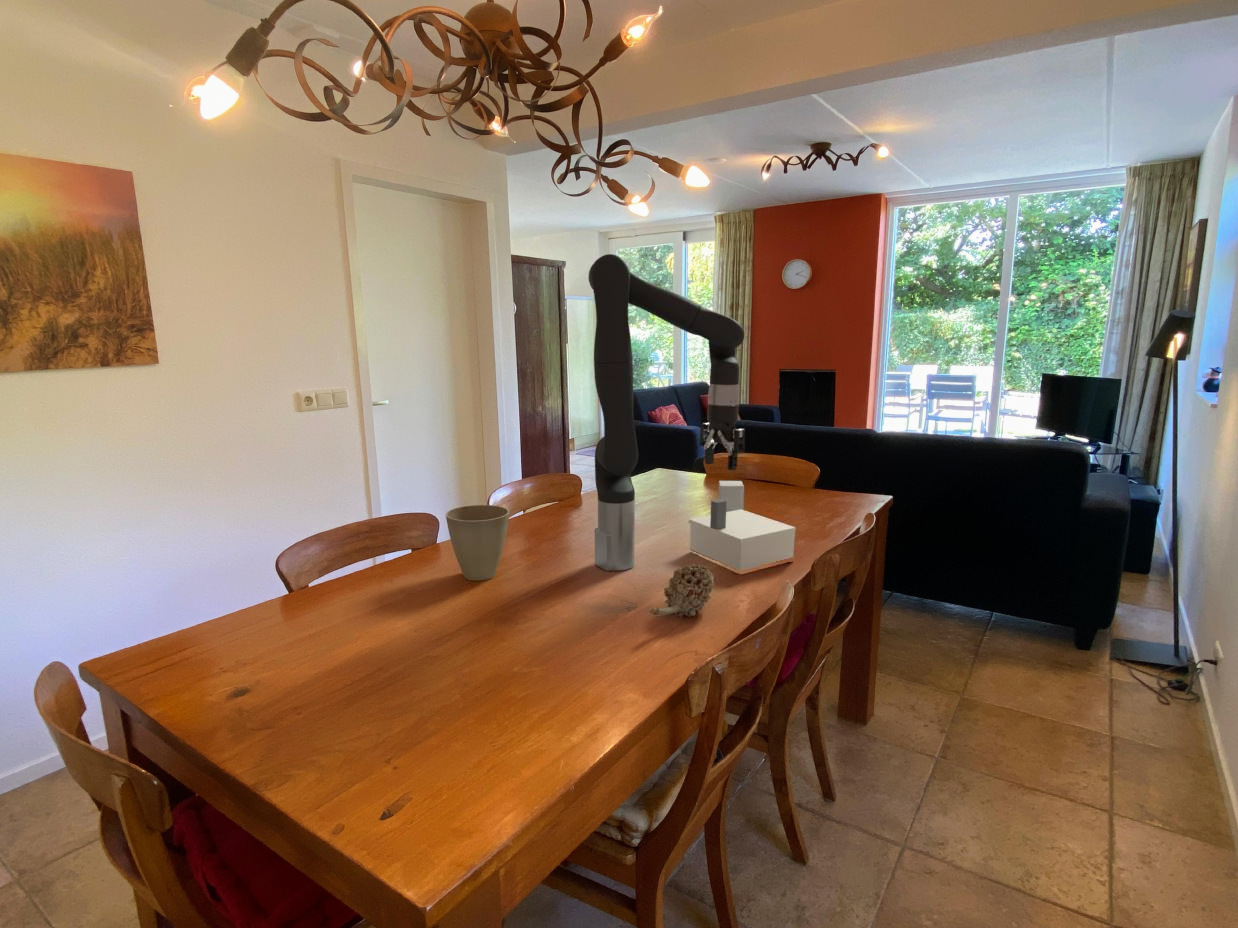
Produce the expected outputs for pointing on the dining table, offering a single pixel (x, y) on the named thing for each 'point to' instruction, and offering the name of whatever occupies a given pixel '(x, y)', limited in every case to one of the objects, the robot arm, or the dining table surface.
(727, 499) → the supplement box
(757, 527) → the mailer lid
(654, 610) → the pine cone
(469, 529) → the plant pot
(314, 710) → the dining table surface
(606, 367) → the robot arm
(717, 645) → the dining table surface
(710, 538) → the mailer box
